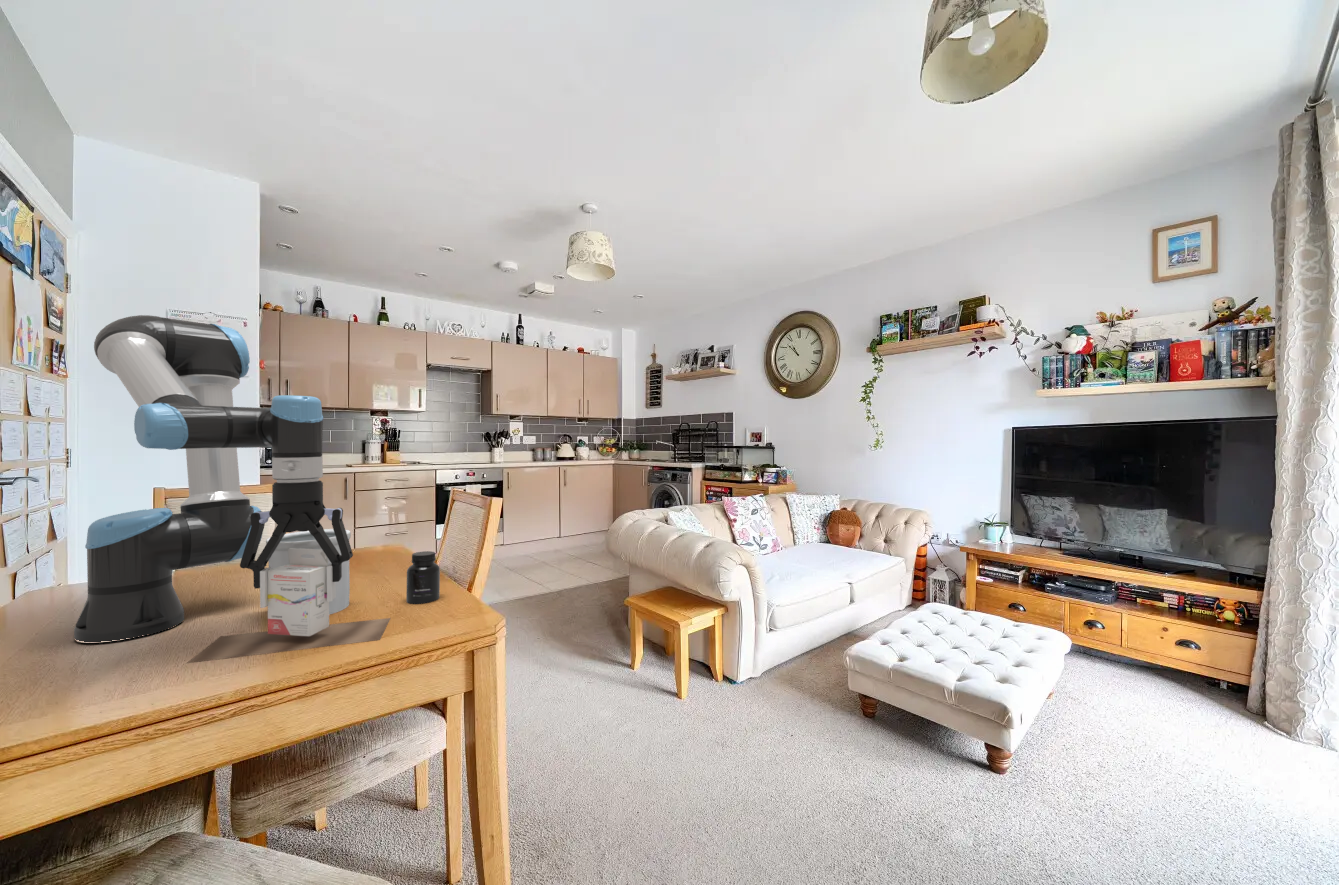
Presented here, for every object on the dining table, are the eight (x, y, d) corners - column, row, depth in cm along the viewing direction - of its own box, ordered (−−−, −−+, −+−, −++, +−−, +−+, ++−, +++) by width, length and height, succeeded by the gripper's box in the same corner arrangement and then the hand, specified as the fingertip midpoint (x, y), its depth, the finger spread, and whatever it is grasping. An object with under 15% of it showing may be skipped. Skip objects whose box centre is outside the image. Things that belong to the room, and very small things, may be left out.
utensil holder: (249, 623, 106) (249, 538, 106) (321, 601, 120) (320, 526, 120) (298, 633, 101) (297, 544, 101) (367, 609, 115) (366, 530, 115)
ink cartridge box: (265, 635, 93) (264, 553, 92) (288, 625, 97) (287, 547, 97) (309, 637, 92) (309, 554, 91) (330, 626, 97) (330, 548, 96)
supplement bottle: (418, 613, 112) (417, 558, 112) (400, 607, 116) (399, 554, 116) (446, 604, 118) (446, 552, 118) (428, 599, 122) (428, 548, 122)
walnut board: (186, 672, 84) (185, 663, 84) (220, 644, 95) (220, 636, 95) (379, 648, 94) (379, 639, 94) (390, 625, 105) (390, 617, 105)
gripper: (213, 484, 87) (214, 616, 87) (362, 480, 95) (363, 601, 95) (233, 480, 94) (234, 602, 94) (370, 477, 102) (371, 590, 102)
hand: (299, 602), depth 95 cm, fingers closed on ink cartridge box, 9 cm apart
